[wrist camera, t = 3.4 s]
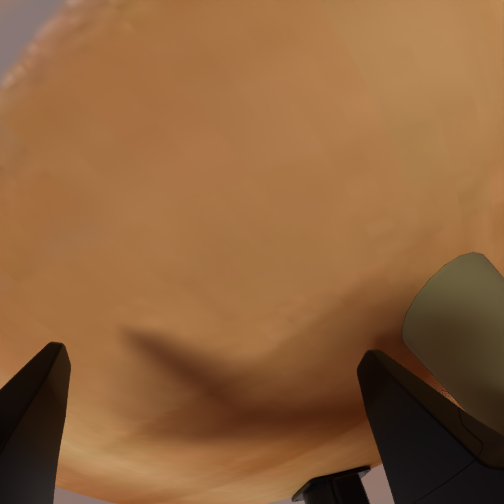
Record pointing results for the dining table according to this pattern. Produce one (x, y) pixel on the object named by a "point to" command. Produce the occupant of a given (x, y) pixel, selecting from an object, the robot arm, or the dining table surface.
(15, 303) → the dining table surface
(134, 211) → the dining table surface
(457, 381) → the olive pawn
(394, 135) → the dining table surface
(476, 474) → the robot arm
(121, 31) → the dining table surface
